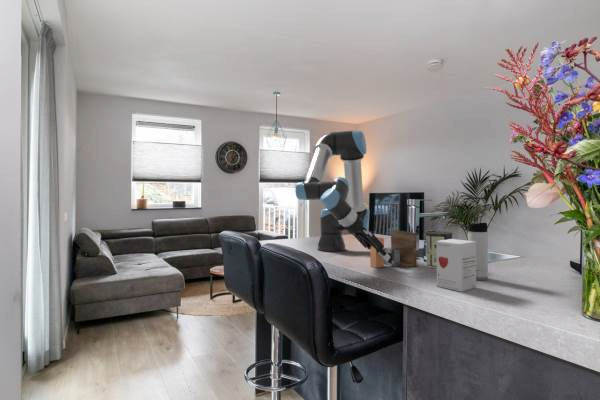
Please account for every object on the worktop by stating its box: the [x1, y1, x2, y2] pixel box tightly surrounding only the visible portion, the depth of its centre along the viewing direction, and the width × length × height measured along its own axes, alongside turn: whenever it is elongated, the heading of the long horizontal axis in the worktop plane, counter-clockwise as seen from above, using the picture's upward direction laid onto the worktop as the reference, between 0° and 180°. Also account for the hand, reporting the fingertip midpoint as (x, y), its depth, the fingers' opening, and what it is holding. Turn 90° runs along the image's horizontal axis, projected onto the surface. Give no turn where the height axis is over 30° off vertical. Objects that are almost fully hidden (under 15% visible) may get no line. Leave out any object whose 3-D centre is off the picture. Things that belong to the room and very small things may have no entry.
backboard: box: [390, 229, 418, 269], centre depth 155 cm, size 5×14×14 cm, turn 24°
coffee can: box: [425, 231, 453, 269], centre depth 149 cm, size 10×10×14 cm
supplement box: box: [436, 238, 477, 292], centre depth 116 cm, size 9×9×15 cm
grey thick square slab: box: [384, 247, 401, 268], centre depth 153 cm, size 3×7×7 cm, turn 24°
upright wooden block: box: [369, 236, 402, 269], centre depth 152 cm, size 14×4×12 cm, turn 114°
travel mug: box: [467, 222, 489, 281], centre depth 127 cm, size 6×7×20 cm
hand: (384, 258), depth 151 cm, fingers closed on upright wooden block, 4 cm apart
